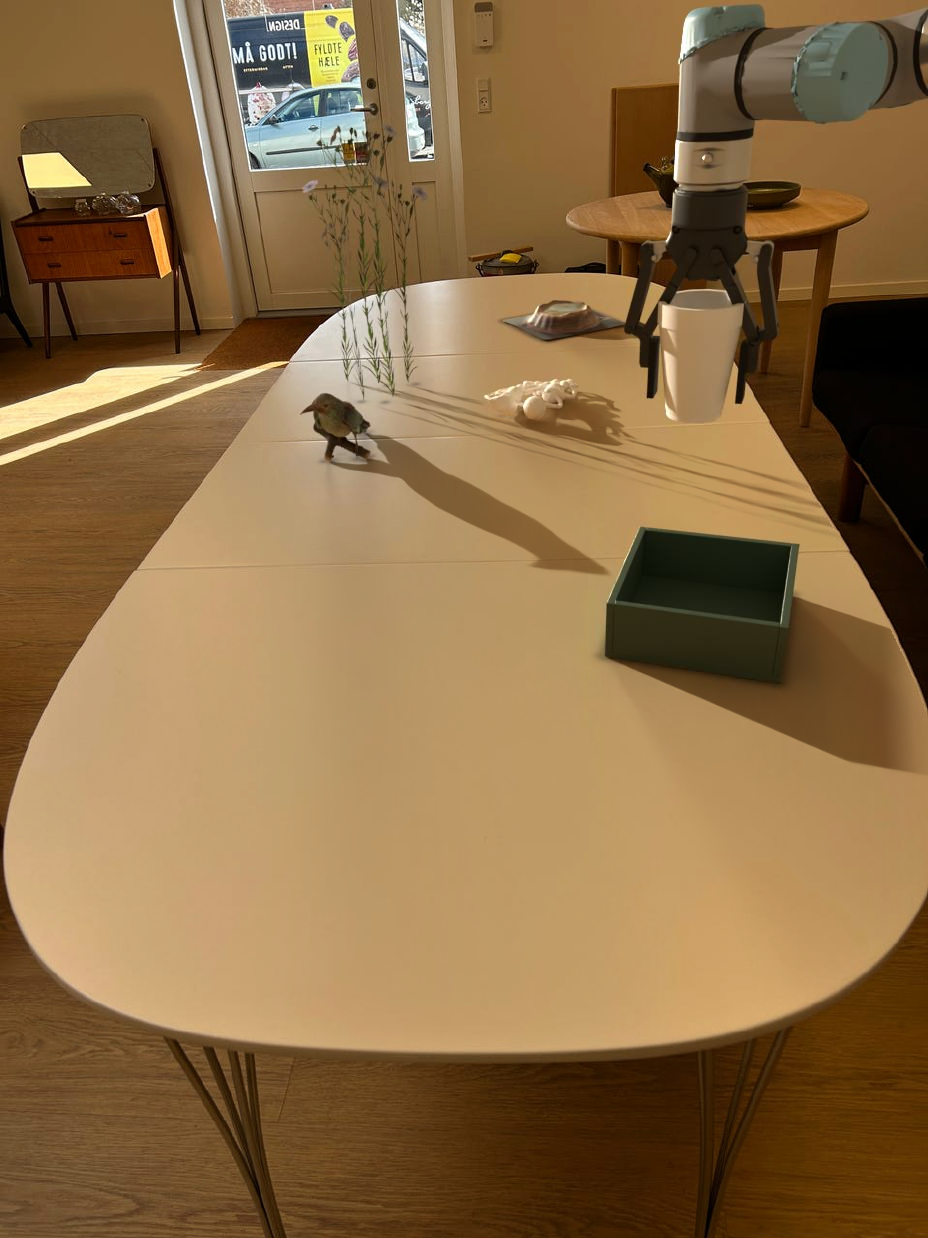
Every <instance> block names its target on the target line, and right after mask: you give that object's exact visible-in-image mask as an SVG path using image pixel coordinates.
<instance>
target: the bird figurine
mask: <svg viewBox="0 0 928 1238" xmlns="http://www.w3.org/2000/svg"><path fill="white" fill-rule="evenodd" d="M307 413H312V416H313V420H314V423H313V426H312V429H313V431H314V432H315V433H317V434H319V435H321V436H322V437H323V438H324V439H325V440H326V442H327V444H326V447H325V451H324V457H323V458H324V460H325V461H328V462H330V461H332V460H333V459H335V455H334V451H335V449H336V447H339V448H341V449H344V450H346V451H348V452H350V453H352V454H353V455H355V456H356V458H357V459H358V458H359V457H360V458H363V459H365V460H367V459H369V457H370V455H371V451H370V450H369V449H367V448H365V447H364V446H363V445H359V443H358V438H357V437H358V436H357V435H361V434H362V433H363V434H364V433H367V430H369V428H370V427H371V426H372V425H371V422H369V421H368V420H366V419H365V418H364V416H363V415H362V413H361V412H359V411H358V409H356V407H355V405H353V404H352V403H351V402H350V401H347V400H341V399H340V398H339V397H336V396H335V395H333V394H331V393H327V392H322V393H320V394H319V395H317V396H316V397H315V398H314V399H313V401H312V402H311V404H309V405H308V406H307V407H306V408H304V409H303V410H302V411H301V413H300V414H299V415H303V414H307ZM350 434H352V435H353V437H354V441H355V442H353V441H351V440H349V439H348V438H347V436H349V435H350Z"/></svg>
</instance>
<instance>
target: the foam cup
mask: <svg viewBox="0 0 928 1238" xmlns="http://www.w3.org/2000/svg"><path fill="white" fill-rule="evenodd" d="M747 299H748V298H747ZM747 299H746V300H747ZM657 302H658V321H657V323H658V328H659V336H660V354H661V355H660V356H661V366H662V380H663V381H662V382H663V393H664V405H665V415H666V417H667V418H668V419H669V420H672V421H675V422H677V423H684V424H691V425H692V424H695V425H697V424H706V423H713V422H716V421H717V420H719V419H721V417H722V415H723V410H724V406H725V403H726V398H727V393H728V389H729V385H730V380H731V376H732V371H733V367H734V362H735V358H736V354H737V349H738V345H739V340H740V335H741V332H742V318H743V308H744V303H737V304H735V305H732V303H731V301H730V298H729V296H728V294H727V291H726V290H725V289H724V290H723V289H711V288H703V289H700V288H699V289H685V290H678V291H677V293H676V294H675V296H674V298H673V300H672V301H671V303H670V305H668V304H667V303H666V302H665V301H659V299H658V300H657ZM745 303H746V302H745Z"/></svg>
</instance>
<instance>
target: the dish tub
mask: <svg viewBox="0 0 928 1238" xmlns="http://www.w3.org/2000/svg"><path fill="white" fill-rule="evenodd" d="M799 550H800V543H794V542H786V541H776V540H766V539H758V538H748V537H740V536H731V535H722V534H711V533H705V532H704V533H703V532H695V531H686V530H677V529H676V530H675V529H674V530H673V529H666V528H659V527H648V526H639V528H638V529H637V532H636V534H635V537H634V539H633V541H632V544H631V546H630V548H629V551H628V553H627V555H626V557H625V559H624V562H623V565H622V567H621V569H620V571H619V574H618V576H617V578H616V580H615V583H614V585H613V587H612V590H611V592H610V595H609V597H608V599H607V600H606V604H605V605H606V607H605V608H606V609H605V612H606V613H605V633H604V635H605V637H604V638H605V640H604V657H606V658H613V659H619V660H624V661H625V660H626V661H632V662H638V663H644V664H651V665H657V666H664V667H669V668H677V669H683V670H690V671H697V672H702V673H708V674H715V675H720V676H721V675H722V676H729V677H734V678H735V677H736V678H741V679H748V680H754V681H759V682H760V681H761V682H765V683H767V682H768V683H774V684H780V683H781V680H782V672H783V667H784V661H785V654H786V648H787V641H788V635H789V631H790V630H789V629H790V622H791V613H792V605H793V598H794V592H795V591H794V590H795V582H796V576H797V575H796V574H797V566H798V558H799Z"/></svg>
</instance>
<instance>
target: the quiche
mask: <svg viewBox="0 0 928 1238" xmlns="http://www.w3.org/2000/svg"><path fill="white" fill-rule="evenodd" d="M502 322H504V323H507V324H510V325H512V326H514V327H518V328H519V329H521V330H523V331H524V332H527V333H529V334H531V335H532V336H535V337H536V338H538V339H541V340H543V341H544V340H555V339H562V338H566V337H571V336H577V335H582V334H587V333H592V332H597V331H601V330H605V329H610V328H614V327H619V326H625V322H626V321H622V320H619V319H616V318H611V317H608V316H606V315H603V314H601V313H599V312H597V311H595V310H593V309H592V308H591V306H590V305H588V304H586V303H585V302H584V301H582V300H581V301H580V300H577V301H572V300H565V299H564V300H561V299H560V300H559V299H552V300H551V301H548V302H546V303H541V304H540V305H538V306H537V308H536V309H535V311H534V313H531V314H526V315H522V316H517V317H511V318H506V319H502Z"/></svg>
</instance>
